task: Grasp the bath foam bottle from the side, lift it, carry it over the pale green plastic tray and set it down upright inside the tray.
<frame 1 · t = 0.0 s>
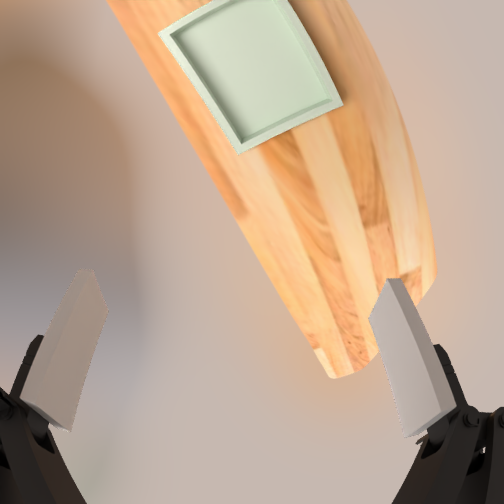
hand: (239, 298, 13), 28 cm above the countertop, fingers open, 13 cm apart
tray: (252, 62, 29), on the countertop
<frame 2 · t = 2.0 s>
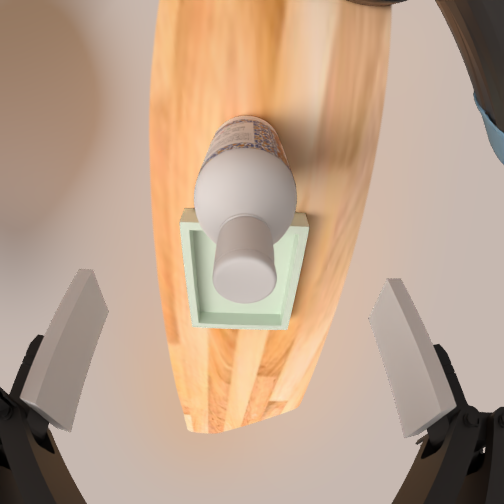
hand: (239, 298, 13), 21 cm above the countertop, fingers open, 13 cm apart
tray: (242, 269, 39), on the countertop
bath foam: (246, 145, 29), on the countertop
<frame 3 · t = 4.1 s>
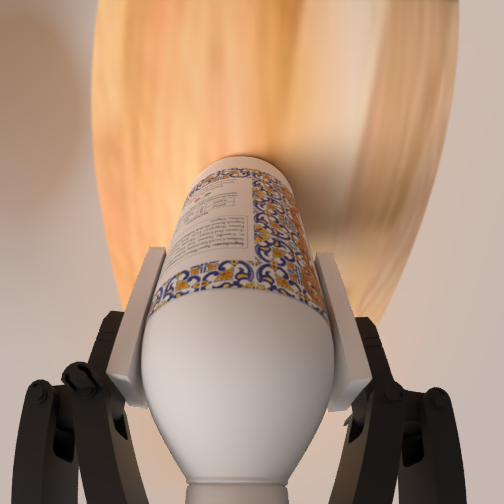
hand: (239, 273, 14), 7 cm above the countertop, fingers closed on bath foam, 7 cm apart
bath foam: (241, 200, 20), on the countertop, touching gripper
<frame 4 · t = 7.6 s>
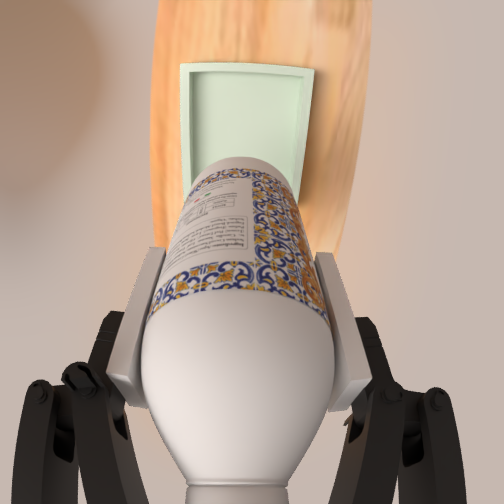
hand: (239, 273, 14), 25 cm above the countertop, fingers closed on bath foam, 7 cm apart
tray: (243, 134, 33), on the countertop
bath foam: (241, 201, 20), point 17 cm above the countertop, touching gripper
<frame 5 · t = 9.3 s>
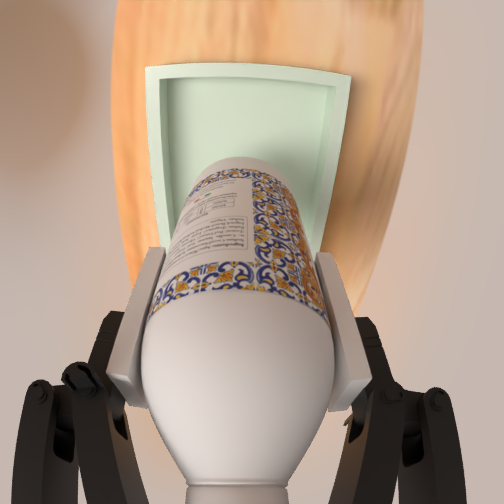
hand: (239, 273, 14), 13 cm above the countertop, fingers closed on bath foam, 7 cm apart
tray: (243, 168, 24), on the countertop
bath foam: (241, 201, 20), point 6 cm above the countertop, touching gripper
when the fingers open (9 cm above the countertop, at t = 11.0 s): bath foam drops 1 cm, resting on tray.
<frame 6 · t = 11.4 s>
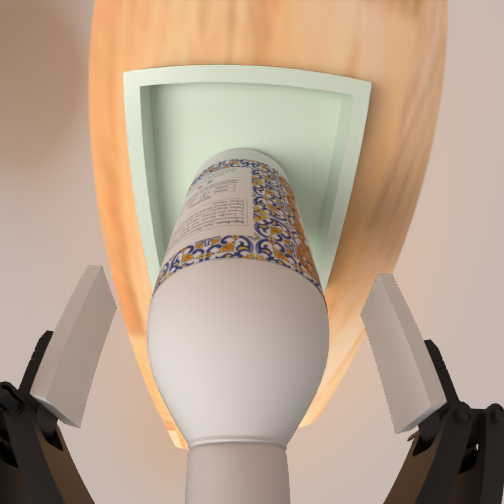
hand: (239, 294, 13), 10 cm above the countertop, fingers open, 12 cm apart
tray: (241, 189, 21), on the countertop
bath foam: (240, 192, 20), point 1 cm above the countertop, touching tray
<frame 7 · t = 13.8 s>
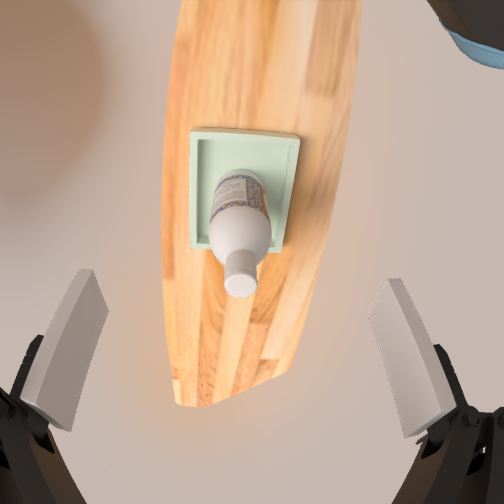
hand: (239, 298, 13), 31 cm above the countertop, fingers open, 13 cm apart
tray: (239, 188, 42), on the countertop
bath foam: (239, 189, 42), point 1 cm above the countertop, touching tray
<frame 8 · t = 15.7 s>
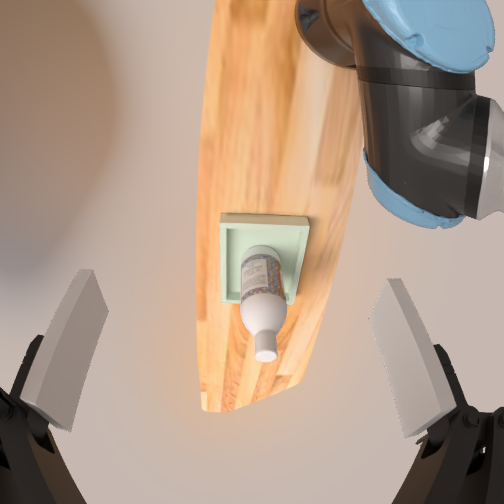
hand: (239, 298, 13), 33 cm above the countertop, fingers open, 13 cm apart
tray: (260, 257, 53), on the countertop
bath foam: (260, 259, 53), point 1 cm above the countertop, touching tray
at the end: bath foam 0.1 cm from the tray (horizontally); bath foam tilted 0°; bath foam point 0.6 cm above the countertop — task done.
